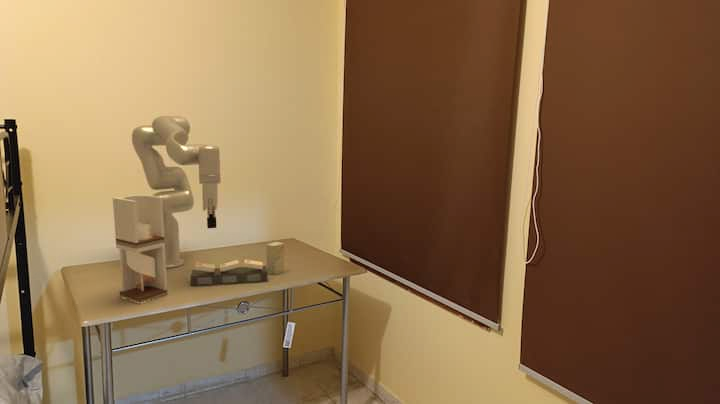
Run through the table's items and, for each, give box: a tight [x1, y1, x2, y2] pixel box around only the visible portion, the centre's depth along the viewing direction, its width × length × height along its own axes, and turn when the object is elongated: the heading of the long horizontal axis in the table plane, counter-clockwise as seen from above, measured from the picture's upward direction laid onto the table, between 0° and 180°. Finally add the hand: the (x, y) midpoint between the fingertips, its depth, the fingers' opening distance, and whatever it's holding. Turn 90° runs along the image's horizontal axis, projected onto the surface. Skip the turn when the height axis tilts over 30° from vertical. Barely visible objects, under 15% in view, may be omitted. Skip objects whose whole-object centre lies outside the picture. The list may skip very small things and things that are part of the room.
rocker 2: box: [243, 259, 264, 269], centre depth 185 cm, size 7×4×2 cm, turn 104°
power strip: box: [190, 265, 268, 288], centre depth 184 cm, size 28×8×4 cm, turn 104°
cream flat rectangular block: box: [219, 259, 240, 272], centre depth 183 cm, size 7×4×2 cm, turn 104°
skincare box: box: [266, 241, 285, 276], centre depth 194 cm, size 6×4×12 cm
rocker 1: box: [194, 261, 216, 272], centre depth 181 cm, size 7×4×2 cm, turn 104°
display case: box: [112, 193, 168, 303], centre depth 164 cm, size 11×11×35 cm
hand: (212, 227), depth 179 cm, fingers closed
